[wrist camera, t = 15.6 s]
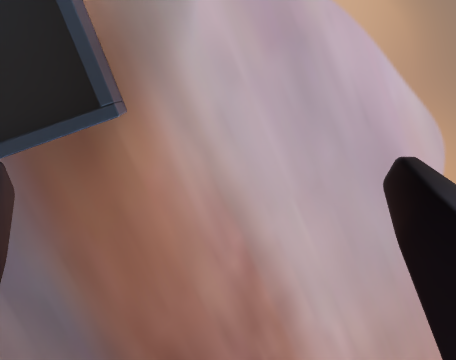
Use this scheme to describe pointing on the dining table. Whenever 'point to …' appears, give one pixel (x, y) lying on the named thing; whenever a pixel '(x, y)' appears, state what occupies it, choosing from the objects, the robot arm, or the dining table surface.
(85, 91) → the box
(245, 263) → the dining table surface
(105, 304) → the dining table surface
